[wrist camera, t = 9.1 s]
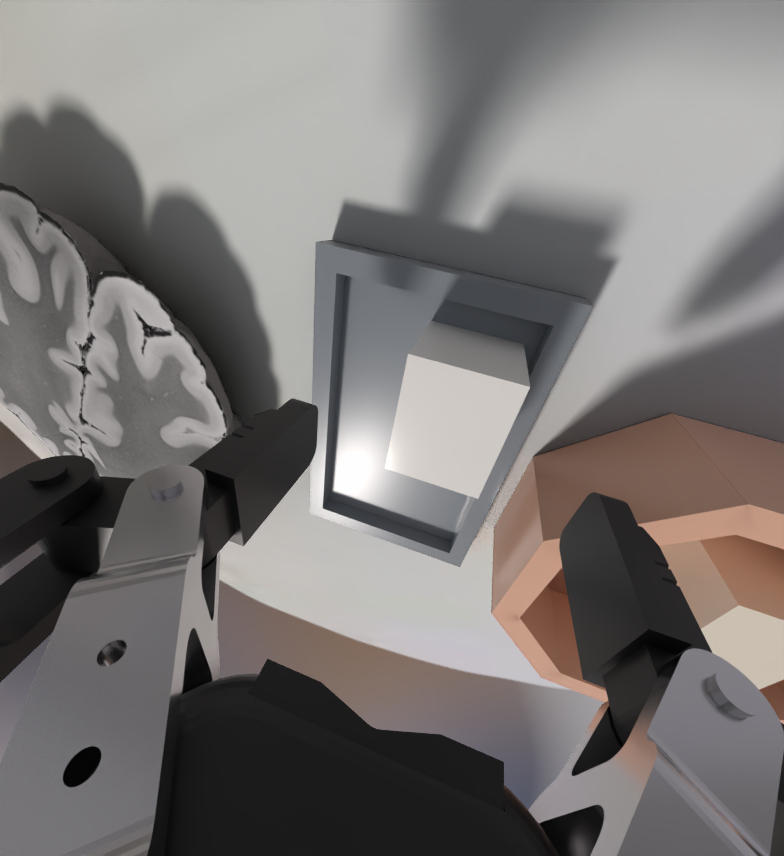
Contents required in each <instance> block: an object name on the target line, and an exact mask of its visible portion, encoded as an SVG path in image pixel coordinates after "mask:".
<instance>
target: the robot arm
mask: <svg viewBox="0 0 784 856" xmlns="http://www.w3.org/2000/svg"><path fill="white" fill-rule="evenodd" d="M317 429H318V408H317V406H316V405H313V404H309V403H306V402H303V401H300V400H296V399H290V400H289V401H288V402H286V403H285V404H284V405H283V406H281V407H280V408H279V409H278V410H274V409H270V410H267V411H265V412H262V413H259V414H256V415H254V416H253V417H252V418H250V419H249V420H248V421H246V422H245V423H244V424H242V427H238V428H237V429H236V430H234V431H233V432H232V434H231V435H228V436H227V437H225V438H224V439H223V440H221V441H220V442H219V443H217V444H216V445H215V446H213V447H212V448H211V449H209V450H208V451H207V452H205V453H204V454H203V455H201V456H200V457H199V458H198V459H196V460H195V461H194V462H192V463H191V464H190V465H188V466H187V465H167V466H162V467H158V468H155V469H152V470H150V471H148V472H146V473H144V474H142V475H141V476H139V477H138V478H136V479H134V478H120V477H105V476H100V475H99V473H98V471H97V469H96V467H95V465H94V463H93V462H92V461H91V460H90V459H88V458H86V457H83V456H77V455H63V456H55V457H50V458H46V459H42V460H39V461H36V462H33V463H30V464H28V465H26V466H24V467H22V468H20V469H18V470H16V471H14V472H12V473H11V474H9V475H7V476H5V477H3V478H1V479H0V568H2V567H3V566H5V565H6V564H7V563H9V562H10V561H11V560H13V559H14V558H16V557H17V556H18V555H20V554H21V553H23V552H24V551H25V550H27V549H28V548H29V547H31V546H32V545H34V544H35V543H36V542H37V544H38V545H39V546H40V548H41V549H42V551H43V552H44V553H42V554H41V555H40V556H39V557H37V558H36V559H34V560H33V561H32V562H30V563H29V564H28V565H27V566H25V567H24V568H23V569H21V570H20V571H19V572H18V573H16V574H15V575H13V576H12V577H11V578H10V579H8V580H7V581H5V582H4V583H3V584H2V585H0V682H1V681H2V680H3V679H4V678H5V677H6V676H7V675H8V674H9V673H10V672H12V670H14V668H16V667H17V666H18V665H19V664H20V663H21V662H22V661H23V660H24V659H25V658H26V657H27V656H28V655H29V654H30V653H31V652H32V651H33V650H34V649H35V648H37V647H38V646H39V645H40V644H41V643H42V642H43V641H44V640H45V639H46V638H47V637H48V636H49V635H50V634H51V633H52V632H53V633H52V636H51V638H50V641H49V643H48V646H47V648H46V651H45V653H44V656H43V658H42V661H41V663H40V666H39V669H38V671H37V673H36V676H35V678H34V681H33V683H32V686H31V688H30V691H29V693H28V696H27V698H26V701H25V703H24V706H23V709H22V711H21V714H20V716H19V718H18V721H17V723H16V726H15V729H14V731H13V733H12V736H11V738H10V741H9V743H8V746H7V748H6V751H5V753H4V756H3V758H2V761H1V764H0V856H784V724H783V723H781V722H780V720H779V718H778V716H777V714H776V713H775V711H774V709H773V708H772V706H771V705H770V703H769V702H768V700H767V699H766V698H765V696H764V695H763V694H762V693H761V691H760V690H759V689H758V688H757V687H756V686H755V685H754V684H753V683H752V682H751V681H750V680H749V679H748V678H747V677H746V676H745V675H744V674H743V673H742V672H740V671H739V670H738V669H737V668H736V667H734V666H733V665H732V664H730V663H729V662H727V661H726V660H724V659H723V658H721V657H719V656H717V655H715V654H713V653H712V651H711V649H710V647H709V645H708V643H707V641H706V639H705V637H704V635H703V633H702V631H701V629H700V627H699V625H698V623H697V621H696V619H695V617H694V615H693V613H692V611H691V609H690V607H689V605H688V603H687V601H686V599H685V597H684V595H683V593H682V591H681V589H680V587H679V586H677V580H676V578H675V576H674V574H673V572H672V570H671V569H668V567H669V564H668V562H667V560H666V558H665V556H664V554H663V552H662V550H661V548H660V546H659V545H658V544H657V543H656V542H655V541H654V539H653V538H652V537H651V536H650V535H649V534H648V533H647V532H646V530H645V529H644V528H643V527H641V526H638V524H637V522H636V520H635V518H634V516H633V513H632V511H631V509H630V507H629V505H628V504H627V503H626V502H625V501H622V500H618V499H615V498H612V497H609V496H605V495H602V494H599V493H596V492H593V493H590V494H589V495H588V496H587V497H586V498H585V500H584V501H583V503H582V504H581V505H580V507H579V508H578V509H577V511H576V512H575V514H574V515H573V516H572V518H571V519H570V521H569V522H568V523H567V525H566V526H565V528H564V529H563V531H562V534H561V537H560V542H559V550H560V556H561V561H562V567H563V572H564V578H565V583H566V589H567V594H568V600H569V605H570V611H571V616H572V622H573V627H574V633H575V638H576V644H577V649H578V655H579V660H580V666H581V671H582V677H583V680H585V681H588V682H591V683H593V684H596V685H598V686H601V687H603V688H606V693H607V697H608V701H607V702H605V703H604V704H602V705H601V707H600V708H599V710H598V712H597V713H596V715H595V716H594V718H593V720H592V722H591V723H590V725H589V726H588V728H587V730H586V731H585V733H584V735H583V736H582V738H581V740H580V741H579V743H578V745H577V747H576V748H575V750H574V752H573V753H572V755H571V757H570V758H569V760H568V762H567V763H566V765H565V767H564V768H563V770H562V771H561V773H560V774H559V776H558V777H557V778H556V780H555V781H554V782H553V783H552V784H551V785H550V786H549V787H548V788H547V789H546V790H545V791H544V792H543V793H542V794H541V795H540V796H539V797H538V798H537V800H536V801H535V802H534V803H533V805H532V806H531V808H530V809H529V810H528V809H527V808H526V807H525V806H524V805H523V804H522V802H521V801H520V800H519V799H518V798H517V797H516V796H515V795H514V794H513V793H512V792H511V791H510V790H509V789H508V788H507V787H506V786H505V785H504V762H502V761H500V760H498V759H495V758H493V757H491V756H489V755H486V754H484V753H482V752H480V751H477V750H475V749H472V748H470V747H468V746H466V745H463V744H461V743H459V742H457V741H454V740H452V739H450V738H447V737H445V736H443V735H439V734H427V733H414V732H401V731H389V730H379V729H375V728H373V727H371V726H370V725H368V724H367V723H366V722H365V721H364V720H363V719H362V718H361V717H359V716H358V715H357V714H356V713H355V712H354V711H353V710H352V709H350V708H349V707H348V706H347V705H346V704H345V703H344V702H343V701H341V700H340V699H339V698H338V697H337V696H336V695H335V694H334V693H332V692H331V691H330V690H329V689H328V688H327V687H326V686H324V685H323V684H322V683H321V682H319V681H317V680H315V679H312V678H310V677H308V676H305V675H303V674H301V673H299V672H296V671H294V670H292V669H290V668H287V667H285V666H283V665H280V664H278V663H276V662H274V661H271V660H269V659H267V661H266V663H265V664H264V666H263V668H262V670H261V672H260V674H242V675H234V676H230V677H225V678H220V679H219V647H218V636H217V618H218V593H219V570H220V550H221V549H222V548H223V546H224V545H225V544H226V543H227V542H228V541H231V542H234V543H236V544H239V545H242V546H244V545H245V544H246V543H247V541H248V540H249V539H250V538H251V536H252V535H253V534H254V533H255V531H256V530H257V529H258V528H259V527H260V525H261V524H262V523H263V522H264V520H265V519H266V518H267V517H268V515H269V514H270V513H271V512H272V510H273V509H274V508H275V507H276V506H277V504H278V503H279V502H280V501H281V499H282V498H283V497H284V496H285V494H286V493H287V492H288V491H289V490H290V488H291V487H292V486H293V485H294V483H295V482H296V481H297V480H298V478H299V477H300V476H301V475H302V473H303V472H304V471H305V470H306V469H307V467H308V466H309V465H310V463H311V462H312V460H313V458H314V455H315V452H316V447H317Z"/></svg>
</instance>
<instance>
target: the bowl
mask: <svg viewBox="0 0 784 856" xmlns="http://www.w3.org/2000/svg"><path fill="white" fill-rule="evenodd" d="M593 492H596V493H599V494H602V495H605V496H609V497H612V498H615V499H618V500H622V501H625V502H626V503H627V504H628V505H629V507H630V509H631V511H632V513H633V516H634V518H635V520H636V522H637V524H638V526H641V527H643V528H644V529H645V530H646V532H647V533H648V534H649V535H650V536H651V537H652V538H653V539H654V541H655V542H656V543H657V544H658V545H659V546H662V545H669V544H676V543H683V542H689V541H696V540H703V539H710V538H717V537H723V536H730V535H739V536H742V537H745V538H748V539H752V540H755V541H758V542H761V543H765V544H768V545H771V546H774V547H778V548H781V549H782V550H783V551H784V443H780V442H777V441H773V440H769V439H766V438H762V437H758V436H754V435H751V434H747V433H743V432H739V431H736V430H732V429H728V428H724V427H721V426H717V425H713V424H709V423H706V422H702V421H698V420H694V419H691V418H687V417H683V416H679V415H676V414H672V413H671V414H668V415H665V416H662V417H658V418H655V419H652V420H649V421H646V422H642V423H639V424H636V425H633V426H630V427H627V428H623V429H620V430H617V431H614V432H611V433H607V434H604V435H601V436H598V437H595V438H591V439H588V440H585V441H582V442H579V443H576V444H572V445H569V446H566V447H563V448H560V449H556V450H553V451H550V452H547V453H544V454H541V455H537V456H534V457H533V458H532V460H531V462H530V464H529V465H528V467H527V469H526V471H525V473H524V474H523V476H522V478H521V480H520V482H519V484H518V485H517V487H516V489H515V491H514V493H513V494H512V496H511V498H510V500H509V502H508V503H507V505H506V507H505V509H504V511H503V512H502V514H501V516H500V518H499V520H498V522H497V523H496V525H495V527H494V547H493V578H492V609H491V614H492V615H493V616H494V617H495V618H496V620H497V621H498V622H499V624H500V625H501V626H502V628H503V629H504V630H505V631H506V633H507V634H508V635H509V637H510V638H511V639H512V640H513V642H514V643H515V644H516V646H517V647H518V648H519V649H520V651H521V652H522V653H523V655H524V656H525V657H526V659H527V660H528V661H529V662H530V664H531V665H532V666H533V668H534V669H535V670H536V671H537V673H538V674H539V675H540V677H541V678H544V679H546V680H549V681H551V682H554V683H556V684H559V685H562V686H564V687H567V688H569V689H572V690H574V691H577V692H580V693H582V694H584V695H587V696H590V697H592V698H595V699H598V700H600V701H602V702H607V701H608V697H607V693H606V688H603V687H601V686H598V685H596V684H593V683H591V682H588V681H585V680H583V677H582V671H581V666H580V660H579V655H578V649H577V644H576V638H575V633H574V627H573V622H572V616H571V611H570V605H569V600H568V594H567V589H566V583H565V578H564V572H563V567H562V561H561V556H560V550H559V542H560V537H561V534H562V531H563V529H564V528H565V526H566V525H567V523H568V522H569V521H570V519H571V518H572V516H573V515H574V514H575V512H576V511H577V509H578V508H579V507H580V505H581V504H582V503H583V501H584V500H585V498H586V497H587V496H588V495H589V494H590V493H593ZM759 690H760V691H761V693H762V694H763V695H764V696H765V698H766V699H767V700H768V702H769V703H770V705H771V706H772V708H773V709H774V711H775V713H776V714H777V716H778V718H779V720H780V722H781V723H783V724H784V680H781V681H779V682H776V683H774V684H772V685H769V686H767V687H764V688H762V689H759Z"/></svg>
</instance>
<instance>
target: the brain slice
mask: <svg viewBox="0 0 784 856" xmlns="http://www.w3.org/2000/svg"><path fill="white" fill-rule="evenodd" d="M0 403H1V404H2V405H3V406H5V407H6V408H7V409H8V410H10V411H11V412H12V413H14V414H15V415H16V416H17V417H18V418H19V419H20V420H21V421H22V422H23V423H24V424H25V425H26V426H27V427H28V429H29V430H30V431H31V432H32V433H33V434H34V435H35V436H36V437H37V438H38V439H39V440H40V441H41V442H43V443H44V444H45V445H46V446H47V447H48V448H49V449H50V450H51V451H52V452H53V454H55V455H56V456H63V455H77V456H83V457H86V458H88V459H90V460H91V461H92V462H93V463H94V465H95V467H96V469H97V471H98V473H99V475H100V476H105V477H120V478H134V479H136V478H138V477H139V476H141V475H142V474H144V473H146V472H148V471H150V470H152V469H155V468H158V467H162V466H167V465H187V466H188V465H190V464H191V463H192V462H194V461H195V460H196V459H198V458H199V457H200V456H201V455H203V454H204V453H205V452H207V451H208V450H209V449H211V448H212V447H213V446H215V445H216V444H217V443H219V442H220V441H221V440H223V439H224V438H225V437H227V436H228V435H231V434H232V432H233V431H234V430H236V429H237V428H238V427H242V423H241V422H240V420H239V418H238V416H237V415H235V414H234V413H232V411H231V406H230V402H229V400H228V398H227V396H226V393H225V391H224V389H223V387H222V384H221V381H220V379H219V377H218V374H217V372H216V370H215V368H214V366H213V364H212V362H211V360H210V358H209V357H208V356H207V354H206V353H205V352H204V351H203V350H202V348H201V346H200V344H199V342H198V340H197V338H196V337H195V335H194V334H193V333H192V332H191V331H190V329H189V328H188V327H187V326H186V325H185V324H184V323H182V322H181V321H179V320H178V319H176V318H175V317H174V316H173V313H172V312H171V311H170V309H169V308H168V307H167V306H166V305H165V304H164V303H163V302H162V301H161V300H160V299H158V298H157V297H156V296H155V295H154V294H153V293H152V292H151V291H150V290H149V289H148V288H147V286H146V285H145V284H144V283H142V282H141V281H139V280H138V279H137V278H135V277H134V276H132V275H131V274H129V273H127V271H126V270H125V269H124V267H123V266H122V265H121V263H120V262H119V261H118V259H117V258H116V257H115V256H114V255H112V254H111V253H110V252H109V251H108V250H107V249H106V248H105V247H103V246H102V245H101V244H100V243H99V242H98V241H97V240H96V239H95V238H94V237H93V236H92V235H91V234H90V233H89V232H87V231H86V230H84V229H82V228H81V227H79V226H78V225H76V224H75V223H73V222H72V221H70V220H69V219H67V218H65V217H63V216H61V215H59V214H57V213H55V212H53V211H51V210H49V209H47V208H45V207H43V206H41V205H39V204H38V203H36V202H35V201H34V200H32V199H31V198H30V197H28V196H27V195H25V194H24V193H23V192H21V191H20V190H18V189H17V188H15V187H14V186H10V185H7V184H3V183H0Z"/></svg>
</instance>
